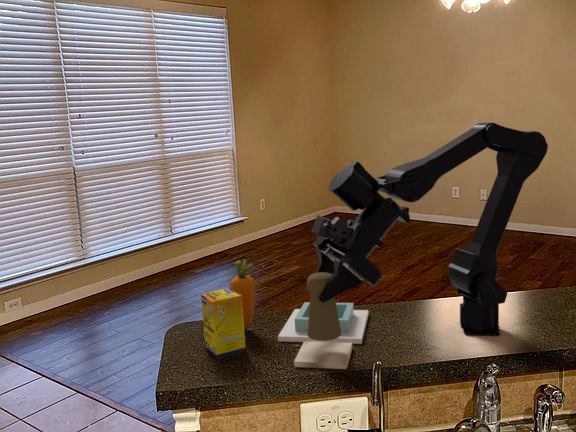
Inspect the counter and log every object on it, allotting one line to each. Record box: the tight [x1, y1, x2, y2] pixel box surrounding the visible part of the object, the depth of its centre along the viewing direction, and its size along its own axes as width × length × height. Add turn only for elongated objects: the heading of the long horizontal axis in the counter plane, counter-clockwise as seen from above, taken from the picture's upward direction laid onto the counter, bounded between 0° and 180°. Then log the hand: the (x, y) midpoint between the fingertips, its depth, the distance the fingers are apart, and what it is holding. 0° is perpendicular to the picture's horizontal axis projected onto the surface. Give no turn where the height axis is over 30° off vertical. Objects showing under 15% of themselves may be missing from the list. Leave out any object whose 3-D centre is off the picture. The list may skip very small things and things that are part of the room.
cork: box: [306, 272, 341, 341], centre depth 100 cm, size 6×6×11 cm
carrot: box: [229, 259, 256, 332], centre depth 115 cm, size 5×5×15 cm
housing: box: [277, 301, 370, 345], centre depth 116 cm, size 16×16×4 cm
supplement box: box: [200, 287, 247, 359], centre depth 106 cm, size 6×6×11 cm
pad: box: [293, 341, 353, 370], centre depth 101 cm, size 9×9×1 cm
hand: (315, 296), depth 99 cm, fingers closed on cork, 5 cm apart
